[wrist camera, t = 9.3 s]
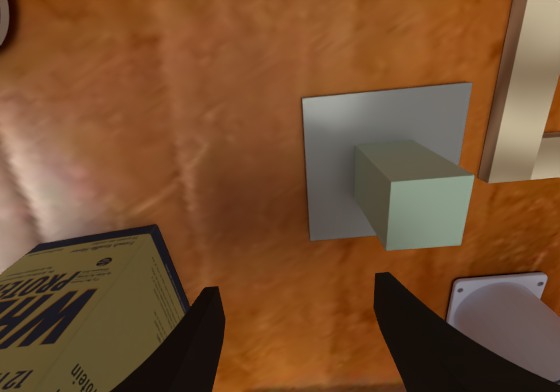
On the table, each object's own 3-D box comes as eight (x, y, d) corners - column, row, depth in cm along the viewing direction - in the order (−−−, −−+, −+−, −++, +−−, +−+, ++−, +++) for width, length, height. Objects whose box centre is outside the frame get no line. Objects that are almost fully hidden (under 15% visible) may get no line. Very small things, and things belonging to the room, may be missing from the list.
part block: (407, 192, 22) (460, 244, 16) (354, 196, 22) (386, 250, 16) (413, 140, 21) (474, 175, 14) (355, 144, 21) (391, 182, 14)
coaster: (444, 225, 24) (448, 229, 24) (309, 236, 25) (310, 240, 24) (466, 81, 20) (472, 82, 19) (301, 97, 20) (302, 98, 20)
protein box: (156, 219, 24) (-16, 454, 10) (211, 353, 30) (154, 612, 16) (34, 241, 24) (-299, 492, 10) (112, 367, 31) (-26, 629, 17)
